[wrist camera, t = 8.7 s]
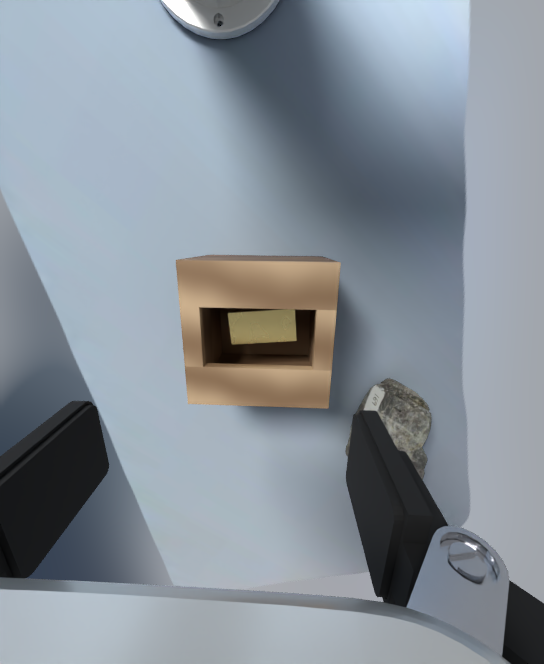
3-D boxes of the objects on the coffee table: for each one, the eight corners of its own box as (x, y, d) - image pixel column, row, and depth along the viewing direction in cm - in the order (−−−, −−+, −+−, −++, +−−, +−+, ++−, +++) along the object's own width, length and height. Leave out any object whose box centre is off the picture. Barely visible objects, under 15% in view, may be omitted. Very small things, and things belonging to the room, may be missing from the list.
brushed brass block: (238, 300, 31) (227, 313, 25) (292, 296, 31) (294, 308, 25) (241, 326, 32) (231, 344, 26) (294, 323, 32) (296, 340, 26)
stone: (335, 377, 39) (371, 378, 29) (384, 377, 40) (435, 379, 30) (337, 485, 37) (377, 526, 27) (389, 482, 38) (445, 521, 28)
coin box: (210, 254, 30) (175, 260, 21) (322, 256, 30) (340, 262, 20) (215, 358, 34) (188, 403, 24) (315, 360, 34) (328, 408, 24)
